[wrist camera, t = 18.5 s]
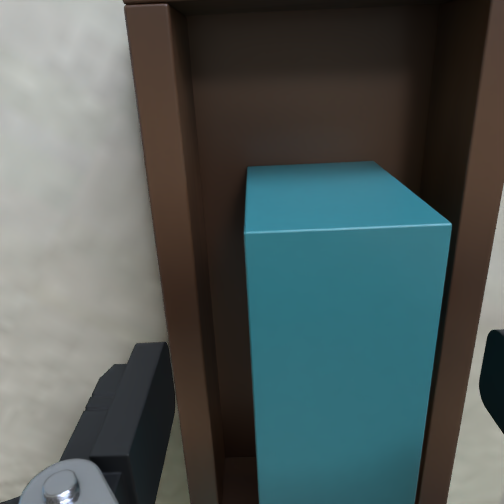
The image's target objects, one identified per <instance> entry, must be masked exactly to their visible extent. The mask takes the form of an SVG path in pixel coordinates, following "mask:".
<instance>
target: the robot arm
mask: <svg viewBox="0 0 504 504" xmlns="http://www.w3.org/2000/svg"><path fill="white" fill-rule="evenodd" d="M479 390H480V395H481V399H482V401H483V404H484V406H485V407H486V409H487V410H488V412H489V413H490V415H491V416H492V418H493V419H494V421H495V422H496V424H497V425H498V427H499V428H500V429H501V431H502V432H503V434H504V329H503V330H492V331H490V333H489V334H488V337H487V341H486V347H485V352H484V358H483V363H482V369H481V374H480V380H479ZM85 408H86V409H85V411H83V413H82V415H81V418H80V420H79V422H78V424H77V426H76V428H75V430H74V432H73V434H72V436H71V438H70V440H69V442H68V444H67V446H66V448H65V450H64V452H63V454H62V457H61V459H60V461H59V462H57V463H55V464H53V465H51V466H49V467H47V468H45V469H44V470H42V471H41V472H40V473H38V474H37V475H36V476H35V477H34V478H33V479H32V480H31V481H30V482H29V483H28V484H27V486H26V487H25V489H24V490H23V492H22V494H21V496H19V497H16V498H14V499H11V500H8V501H5V502H1V503H0V504H155V500H156V496H157V491H158V487H159V482H160V478H161V473H162V469H163V464H164V460H165V455H166V451H167V446H168V442H169V437H170V433H171V428H172V424H173V419H174V413H175V390H174V383H173V376H172V368H171V361H170V354H169V348H168V344H167V343H166V342H155V343H137V344H136V345H135V346H134V349H133V351H132V353H131V356H130V358H129V360H128V363H127V364H114V365H113V366H112V367H111V368H110V369H109V370H108V371H107V372H106V373H105V374H104V375H103V376H102V377H100V379H99V381H98V383H97V385H96V387H95V389H94V391H93V393H92V397H90V399H89V401H88V403H87V405H86V407H85Z"/></svg>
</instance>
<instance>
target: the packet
mask: <svg viewBox="0 0 504 504" xmlns="http://www.w3.org/2000/svg"><path fill="white" fill-rule="evenodd" d="M451 230H452V223H451V222H449V221H448V220H447V219H446V218H444V217H443V216H442V215H441V214H439V213H438V212H437V211H436V210H434V209H433V208H432V207H431V206H429V205H428V204H427V203H426V202H424V201H423V200H422V199H421V198H419V197H418V196H417V195H416V194H414V193H413V192H412V191H411V190H409V189H408V188H407V187H406V186H404V185H403V184H402V183H401V182H399V181H398V180H397V179H396V178H394V177H393V176H392V175H391V174H389V173H388V172H387V171H386V170H384V169H383V168H382V167H381V166H379V165H378V164H377V163H376V162H374V161H360V162H338V163H316V164H294V165H272V166H249V167H247V176H246V197H245V217H244V248H245V266H246V284H247V302H248V319H249V337H250V355H251V373H252V391H253V408H254V426H255V444H256V462H257V479H258V497H259V504H415V497H416V490H417V482H418V475H419V467H420V460H421V452H422V445H423V438H424V430H425V423H426V415H427V408H428V400H429V393H430V386H431V378H432V371H433V363H434V356H435V348H436V341H437V334H438V326H439V319H440V311H441V304H442V296H443V289H444V282H445V274H446V267H447V259H448V252H449V244H450V237H451Z"/></svg>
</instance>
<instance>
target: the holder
mask: <svg viewBox="0 0 504 504" xmlns="http://www.w3.org/2000/svg"><path fill="white" fill-rule="evenodd" d="M123 2H124V4H126V5H125V7H124V13H125V20H126V27H127V35H128V42H129V50H130V57H131V65H132V72H133V79H134V87H135V94H136V102H137V109H138V117H139V124H140V131H141V139H142V146H143V154H144V161H145V168H146V176H147V183H148V191H149V198H150V206H151V213H152V220H153V228H154V235H155V243H156V250H157V258H158V265H159V272H160V280H161V287H162V295H163V302H164V310H165V317H166V324H167V332H168V339H169V347H170V354H171V362H172V369H173V376H174V384H175V391H176V399H177V406H178V414H179V421H180V428H181V436H182V443H183V451H184V458H185V465H186V473H187V480H188V488H189V495H190V503H191V504H259V497H258V479H257V462H256V444H255V426H254V408H253V391H252V373H251V355H250V337H249V319H248V302H247V284H246V266H245V248H244V217H245V197H246V176H247V167H249V166H272V165H294V164H316V163H338V162H360V161H374V162H376V163H377V164H378V165H379V166H381V167H382V168H383V169H384V170H386V171H387V172H388V173H389V174H391V175H392V176H393V177H394V178H396V179H397V180H398V181H399V182H401V183H402V184H403V185H404V186H406V187H407V188H408V189H409V190H411V191H412V192H413V193H414V194H416V195H417V196H418V197H419V198H421V199H422V200H423V201H424V202H426V203H427V204H428V205H429V206H431V207H432V208H433V209H434V210H436V211H437V212H438V213H439V214H441V215H442V216H443V217H444V218H446V219H447V220H448V221H449V222H451V223H452V230H451V237H450V244H449V252H448V259H447V267H446V274H445V282H444V289H443V296H442V304H441V311H440V319H439V326H438V334H437V341H436V348H435V356H434V363H433V371H432V378H431V386H430V393H429V400H428V408H427V415H426V423H425V430H424V438H423V445H422V452H421V460H420V467H419V475H418V482H417V490H416V497H415V504H446V503H447V497H448V492H449V486H450V481H451V475H452V469H453V464H454V458H455V453H456V447H457V441H458V436H459V430H460V425H461V419H462V413H463V408H464V402H465V397H466V391H467V386H468V380H469V374H470V369H471V363H472V358H473V352H474V346H475V341H476V335H477V330H478V324H479V318H480V313H481V307H482V302H483V296H484V290H485V285H486V279H487V274H488V268H489V262H490V257H491V251H492V246H493V240H494V234H495V229H496V223H497V218H498V212H499V206H500V201H501V195H502V190H503V184H504V0H123Z"/></svg>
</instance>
